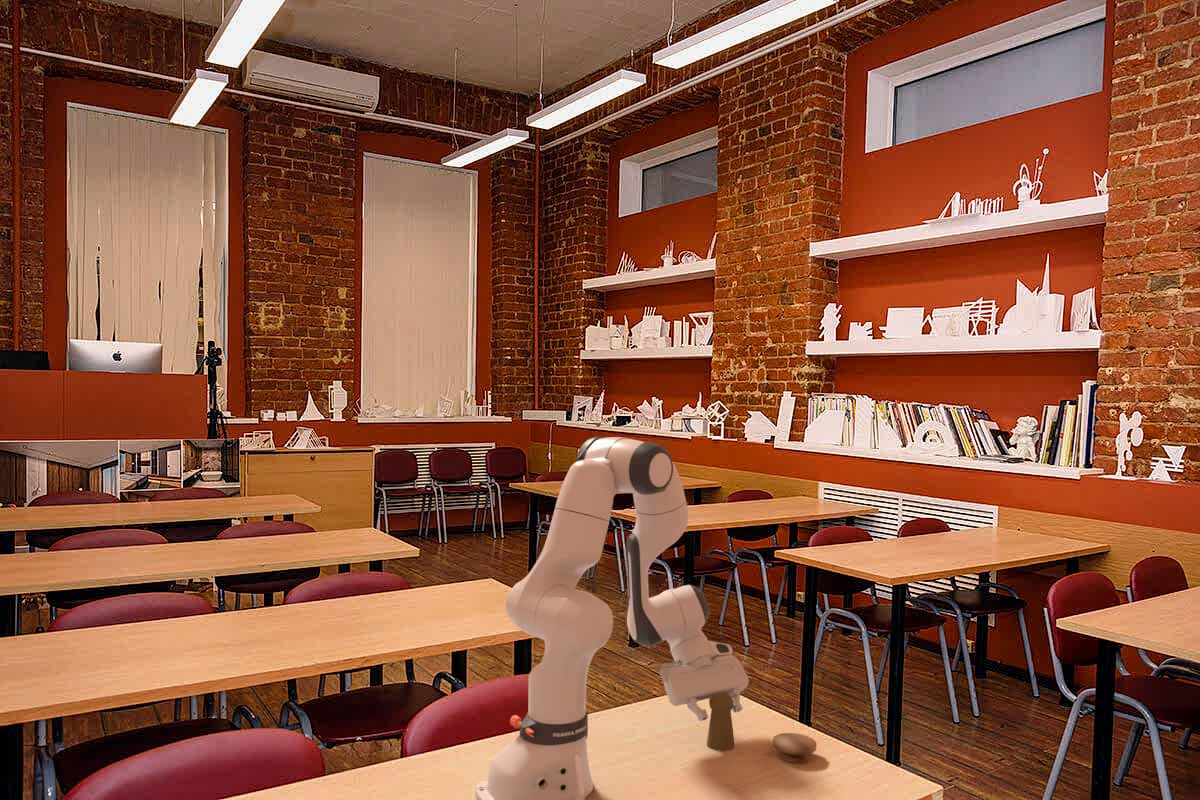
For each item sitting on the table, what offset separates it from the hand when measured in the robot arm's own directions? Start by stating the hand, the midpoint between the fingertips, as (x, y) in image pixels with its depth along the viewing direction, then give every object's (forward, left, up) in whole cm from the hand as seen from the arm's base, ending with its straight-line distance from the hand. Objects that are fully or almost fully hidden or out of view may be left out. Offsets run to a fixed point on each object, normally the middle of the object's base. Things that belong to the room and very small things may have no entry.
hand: (721, 715), depth 187 cm
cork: (0, 0, -7) cm, 7 cm away
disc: (+10, -12, -6) cm, 17 cm away
